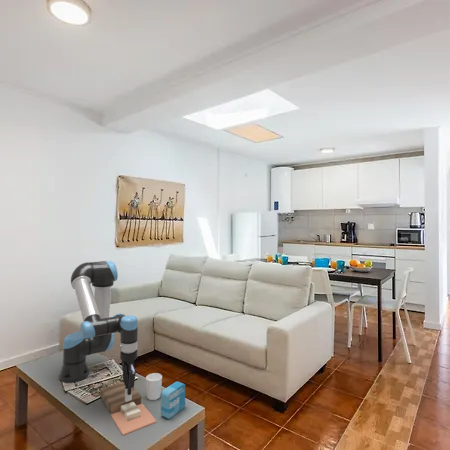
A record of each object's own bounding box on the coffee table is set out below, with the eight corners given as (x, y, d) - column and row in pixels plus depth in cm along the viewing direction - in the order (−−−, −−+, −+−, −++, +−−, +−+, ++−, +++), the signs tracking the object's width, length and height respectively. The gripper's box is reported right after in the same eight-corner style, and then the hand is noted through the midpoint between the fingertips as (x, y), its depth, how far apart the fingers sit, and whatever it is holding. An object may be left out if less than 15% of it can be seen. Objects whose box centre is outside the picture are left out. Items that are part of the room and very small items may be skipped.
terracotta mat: (110, 415, 146) (110, 414, 146) (142, 404, 155) (142, 403, 155) (123, 435, 133) (123, 434, 133) (156, 422, 142) (156, 421, 142)
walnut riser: (100, 396, 161) (100, 388, 161) (127, 387, 169) (127, 380, 169) (111, 414, 147) (111, 406, 146) (140, 404, 155) (141, 396, 155)
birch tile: (120, 411, 149) (120, 405, 148) (133, 406, 152) (133, 401, 152) (127, 421, 141) (127, 415, 141) (140, 416, 145) (140, 411, 145)
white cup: (153, 402, 157) (154, 382, 156) (142, 397, 161) (142, 378, 161) (164, 395, 163) (165, 376, 163) (153, 390, 168) (154, 371, 167)
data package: (167, 420, 144) (168, 394, 143) (160, 417, 146) (160, 391, 146) (185, 407, 154) (185, 382, 153) (177, 404, 156) (178, 380, 156)
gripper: (116, 347, 151) (115, 396, 152) (125, 357, 141) (125, 410, 142) (131, 343, 156) (131, 391, 157) (142, 353, 145) (141, 404, 146)
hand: (128, 400), depth 149 cm, fingers closed
